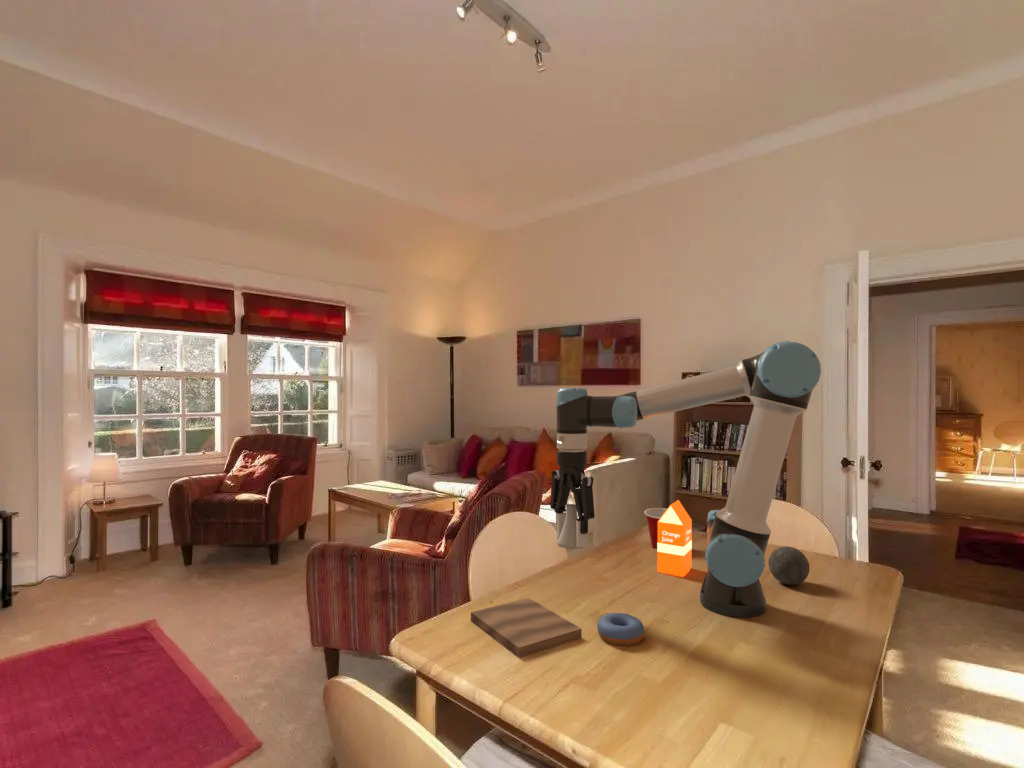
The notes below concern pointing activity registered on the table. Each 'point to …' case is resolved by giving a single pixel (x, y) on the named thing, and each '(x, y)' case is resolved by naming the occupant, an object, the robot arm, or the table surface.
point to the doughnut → (620, 629)
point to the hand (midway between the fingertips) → (571, 542)
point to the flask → (569, 528)
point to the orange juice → (674, 541)
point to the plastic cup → (654, 523)
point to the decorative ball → (789, 565)
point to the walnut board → (525, 626)
